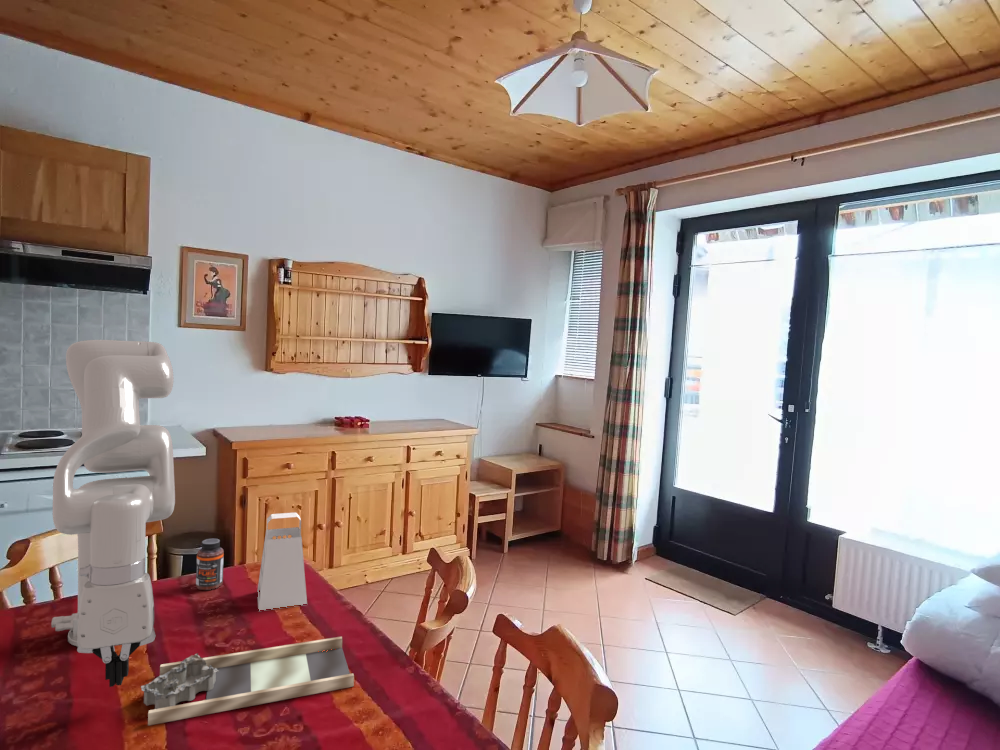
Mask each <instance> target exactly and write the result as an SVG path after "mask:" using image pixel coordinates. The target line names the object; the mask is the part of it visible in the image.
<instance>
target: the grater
mask: <svg viewBox="0 0 1000 750" xmlns="http://www.w3.org/2000/svg"><path fill="white" fill-rule="evenodd" d="M287 518H298V519H299V526H297V527H286V528H285V527H284V528H273V529H268V524H269V523H270V521H271V520H273V519H287ZM284 536H285V538H284ZM289 536H291V537H289ZM274 537H275V538H274ZM278 537H280V538H278ZM302 539H303V538H302V520H301V517H300V515H299V514H298V513H297V512H283V513H272V514H271V513H270V514H269V516H268V517H267V518H266V530H265V537H264V542H263V550H262V557H261V562H260V563H261V564H260V570H259V576H258V582H257V583H258V584H257V591H256V593H257V592H258V597H257V608H258V609H259V611H258V612H261V611H260V610H264V611H267V610H266V609H271V610H274V609H273V608H279V609H281V608H280V607H286V608H288V607H287V606H294V605H301V606H304V605H303V604H307V605H308V600H307V599H308V598H307V585H306V576H305V575H306V574H305V561H304V553H303V552H304V550H303V540H302ZM259 590H260V592H259ZM294 607H295V606H294ZM258 609H257V610H258Z"/></svg>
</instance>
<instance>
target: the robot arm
mask: <svg viewBox="0 0 1000 750" xmlns="http://www.w3.org/2000/svg"><path fill="white" fill-rule="evenodd" d="M171 362H172V361H171V359H170V357H169V355H168V353H167V350H166V348H165V346H164V345H162V343H160V342H155V341H137V340H118V339H117V340H115V339H113V340H112V339H88V340H80V341H77V342H73V343H72V344H70V345H69V346H68V348H67V349H66V353H65V363H66V369H67V374H68V377H69V380H70V383H71V386H72V387H73V390H74V392H75V394H76V396H77V398H78V400H79V404H80V408H81V437H79V438H78V439H77V440H76V441H75V442H74V443H73V444H72V445H71V446H70V447H69V448H68V449H67V450H66V451H65V452H64V453H63V456H62V457H61V458H60V460H59V462H58V463H57V466H56V468H55V471H54V476H53V479H52V480H53V482H52V521H53V525H54V528H55V529H56V530H57V532H59V533H61V534H63V535H68V536H69V535H71V536H72V535H73V536H74V535H77V550H78V551H77V555H78V556H77V559H78V560H77V564H78V565H77V612H76V613H71V615H66V616H64V615H61V616H54V617H52V619H51V623H50V624H51V625H50V626H51V628H55V632H60V631H61V632H62V631H65V630H69V631H68V634H67V642H68V643H69V644H71V645H72V646H74V647H77V649H76V651H77V652H78V653H79V654H80V653H81V654H94V655H95V656H97V658H99V659H101V660H102V662H103V663H104V664H105V672H104V673H105V675H104V677H105V680H106V681H107V680H109V681H108V682H109V685H108V686H109V688H112V687H115V686H122V684H123V681H124V678H126V677H129V676H128V675H129V671H130V670H129V668H130V667H129V664H130V663H129V662H130V656H131V655H132V654H133V653H134V652H135V651H136V650H137V649H138V648H139V647H141V646H145V645H148V644H150V643H152V642H155V638H156V636H157V635H156V632H155V628H154V625H155V603H154V594H153V593H154V592H153V585H152V581H151V577H150V576H151V575H150V574H149V573H148V572H146V527H147V526H146V525H147V524H146V523H151V522H157V521H163V520H165V519H168V518H169V517H171V515H172V514H173V512H174V510H175V504H176V490H175V489H176V487H175V485H176V484H175V467H174V466H175V465H174V447H173V439H172V435H171V433H170V431H169V430H168V429H167V428H166V427H164V426H162V425H157V424H144V425H143V424H141V418H140V403H139V402H140V401H139V400H140V399H163V398H167V397H168V396H169V395H171V394H172V393H171V392H172V391H173V387H174V370H173V366H172V363H171ZM83 465H84V468H85V469H86V470H88V471H89V472H91V473H96V474H98V473H99V474H101V473H102V474H104V473H105V474H108V473H123V472H133V471H135V472H137V471H145V472H147V473H148V475H143V476H133V477H131V476H130V477H127V476H125V477H118V478H117V477H116V478H115V477H113V478H105V479H104V478H103V479H97V480H93V481H89V482H86V483H84V484H82V485H81V486H80V487H78V488H74V479H75V475H76V473H77V471H78V470H79V468H80V467H81V466H83ZM115 646H116V647H117V646H121V650H120V651H119V654H118V653H117V651H116V650H115Z"/></svg>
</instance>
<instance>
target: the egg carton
mask: <svg viewBox="0 0 1000 750" xmlns="http://www.w3.org/2000/svg"><path fill="white" fill-rule="evenodd" d="M203 658H204V657H201V656H200V655H199V652H198V653H195V654H194V655H193V654H191V655H189V656H188V657H186V658H185V659H183V660H182V661H180V662H181V664H180V665H179V666H177V667H175V668H172V669H171V670H170V671H169V672H167V673H165V674H164V675H160V674H159V676H157V677H156V678H154V679H153V680H152V681H150V682H148V683H146V684H144V685H141V686H140V688H141V691H142V692H143V704H144V705H145V706H147V707H148V706H151V705H154V709H159V708H165V707H170V706H176V705H178V704H179V703H181V702H185V701H187V702H190V701H194V700H195V698H196V695H197V694H198V693H199V692H207V691H210V690H212V689H213V687H214V683H215V681H216V672H219V671H218V670H217V669H216V668H215V669H214V668H213V667H212V665H210V666H209V667H208V666H207V664H206V662H205V660H204V659H203Z"/></svg>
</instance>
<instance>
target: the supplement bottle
mask: <svg viewBox="0 0 1000 750" xmlns="http://www.w3.org/2000/svg"><path fill="white" fill-rule="evenodd" d="M220 542H221V540H220V539H218V538H206V539H204V540H202V541H201V548H200V549H199V550H198V551H197V553H196V566H195V567H196V570H195V571H196V572H195V575H196V576H195V587H196V588H197V589H198V590H201V591H211V589H212V590H216V589H219V588H220V587H221V586H222V585H223V581H224V555H225V554H224V552H225V551H224V549H223V548H222V547H221V546H220V545H221V543H220ZM219 586H220V587H219ZM215 588H216V589H215Z"/></svg>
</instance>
